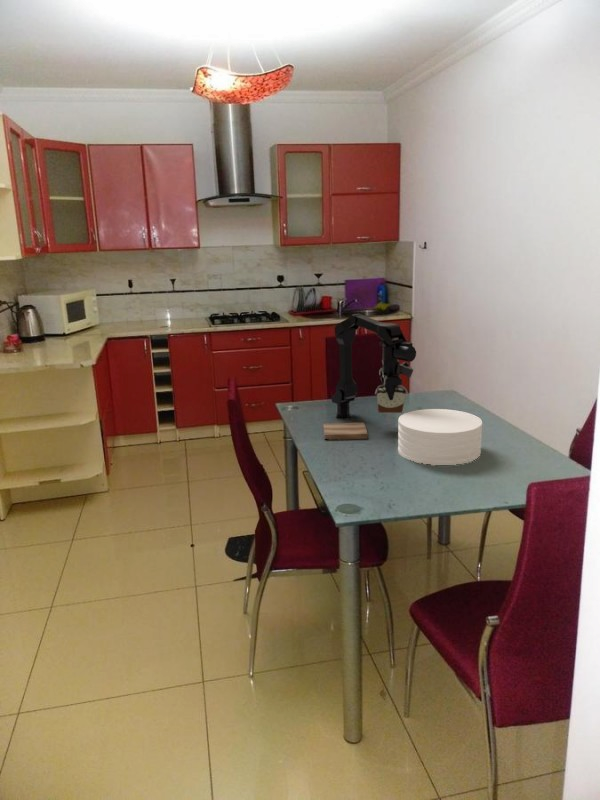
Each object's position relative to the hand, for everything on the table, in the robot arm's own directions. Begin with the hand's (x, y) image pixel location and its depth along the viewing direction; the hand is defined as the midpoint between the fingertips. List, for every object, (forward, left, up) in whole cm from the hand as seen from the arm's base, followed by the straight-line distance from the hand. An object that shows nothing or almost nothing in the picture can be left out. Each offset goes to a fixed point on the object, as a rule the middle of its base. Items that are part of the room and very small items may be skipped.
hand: (389, 397), depth 227 cm
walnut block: (+3, -18, -13) cm, 22 cm away
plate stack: (+25, +14, -13) cm, 31 cm away
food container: (-2, 0, -5) cm, 6 cm away
